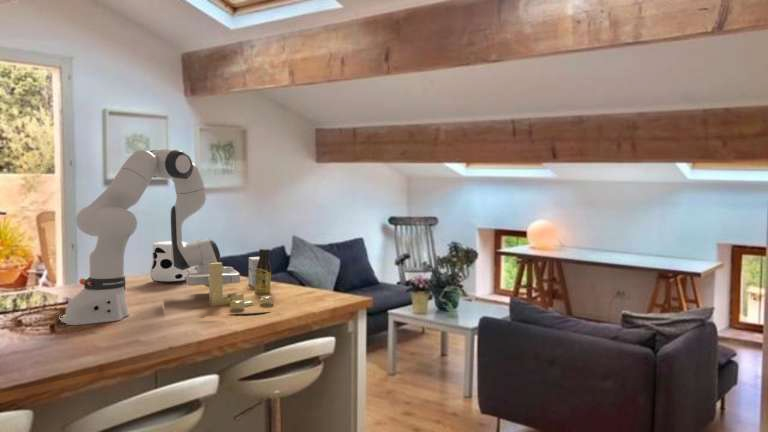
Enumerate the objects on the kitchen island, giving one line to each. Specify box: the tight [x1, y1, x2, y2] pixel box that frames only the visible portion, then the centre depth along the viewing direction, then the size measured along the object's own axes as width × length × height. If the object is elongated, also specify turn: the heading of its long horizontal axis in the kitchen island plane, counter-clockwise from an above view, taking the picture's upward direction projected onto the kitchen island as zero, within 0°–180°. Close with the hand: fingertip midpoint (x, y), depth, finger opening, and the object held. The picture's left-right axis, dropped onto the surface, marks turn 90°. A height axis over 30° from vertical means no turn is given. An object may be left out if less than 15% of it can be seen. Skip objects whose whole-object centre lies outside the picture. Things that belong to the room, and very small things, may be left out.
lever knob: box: [208, 261, 245, 308], centre depth 242 cm, size 14×6×16 cm, turn 138°
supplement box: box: [248, 256, 260, 288], centre depth 288 cm, size 7×7×13 cm
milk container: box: [150, 240, 191, 284], centre depth 292 cm, size 17×17×18 cm
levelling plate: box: [228, 295, 274, 317], centre depth 240 cm, size 22×22×4 cm
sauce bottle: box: [254, 247, 272, 295], centre depth 265 cm, size 6×6×20 cm
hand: (215, 282), depth 240 cm, fingers closed
